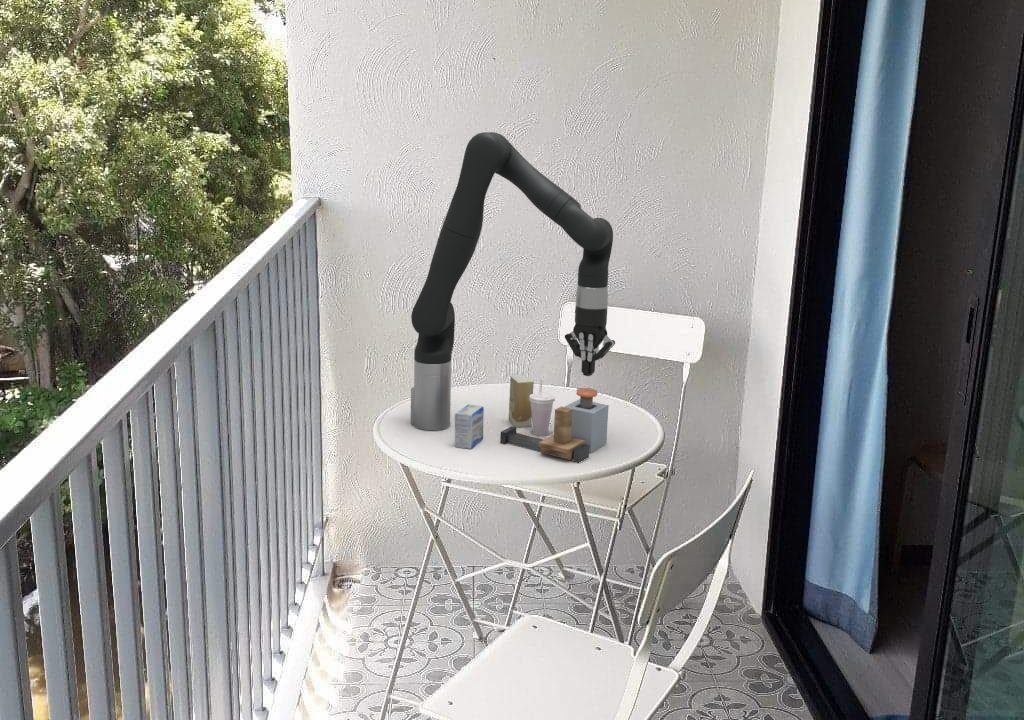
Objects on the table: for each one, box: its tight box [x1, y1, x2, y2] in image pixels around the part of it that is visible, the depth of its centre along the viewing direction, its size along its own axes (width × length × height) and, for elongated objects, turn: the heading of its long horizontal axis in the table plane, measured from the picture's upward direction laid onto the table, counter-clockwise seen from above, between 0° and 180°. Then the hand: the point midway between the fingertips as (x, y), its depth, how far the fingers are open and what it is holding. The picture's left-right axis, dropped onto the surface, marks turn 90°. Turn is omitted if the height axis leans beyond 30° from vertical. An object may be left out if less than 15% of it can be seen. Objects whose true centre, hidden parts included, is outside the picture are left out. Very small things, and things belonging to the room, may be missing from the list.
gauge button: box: [576, 387, 598, 410], centre depth 242 cm, size 5×5×7 cm
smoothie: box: [529, 378, 556, 437], centre depth 250 cm, size 6×6×14 cm
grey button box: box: [563, 398, 610, 454], centre depth 243 cm, size 8×8×10 cm
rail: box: [499, 425, 590, 464], centre depth 240 cm, size 22×5×3 cm, turn 57°
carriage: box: [539, 406, 585, 461], centre depth 236 cm, size 8×8×11 cm
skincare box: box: [507, 374, 535, 428], centre depth 257 cm, size 6×4×12 cm
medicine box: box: [454, 404, 485, 450], centre depth 242 cm, size 8×4×9 cm, turn 160°
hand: (587, 375), depth 240 cm, fingers closed
